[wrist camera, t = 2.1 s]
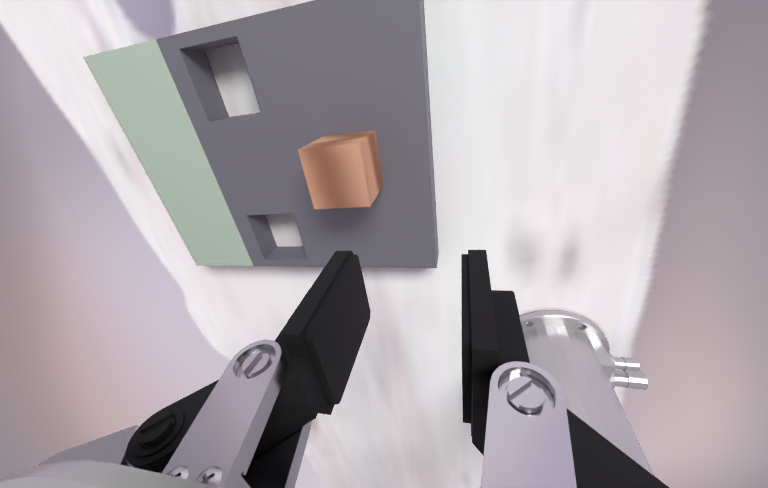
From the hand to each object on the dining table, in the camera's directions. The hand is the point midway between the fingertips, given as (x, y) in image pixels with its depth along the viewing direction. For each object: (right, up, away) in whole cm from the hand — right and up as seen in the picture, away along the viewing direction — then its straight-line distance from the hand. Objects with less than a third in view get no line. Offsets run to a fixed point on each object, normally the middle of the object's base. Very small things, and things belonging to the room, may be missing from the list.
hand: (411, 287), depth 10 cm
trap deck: (-12, +11, +22) cm, 27 cm away
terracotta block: (-4, +9, +17) cm, 20 cm away
